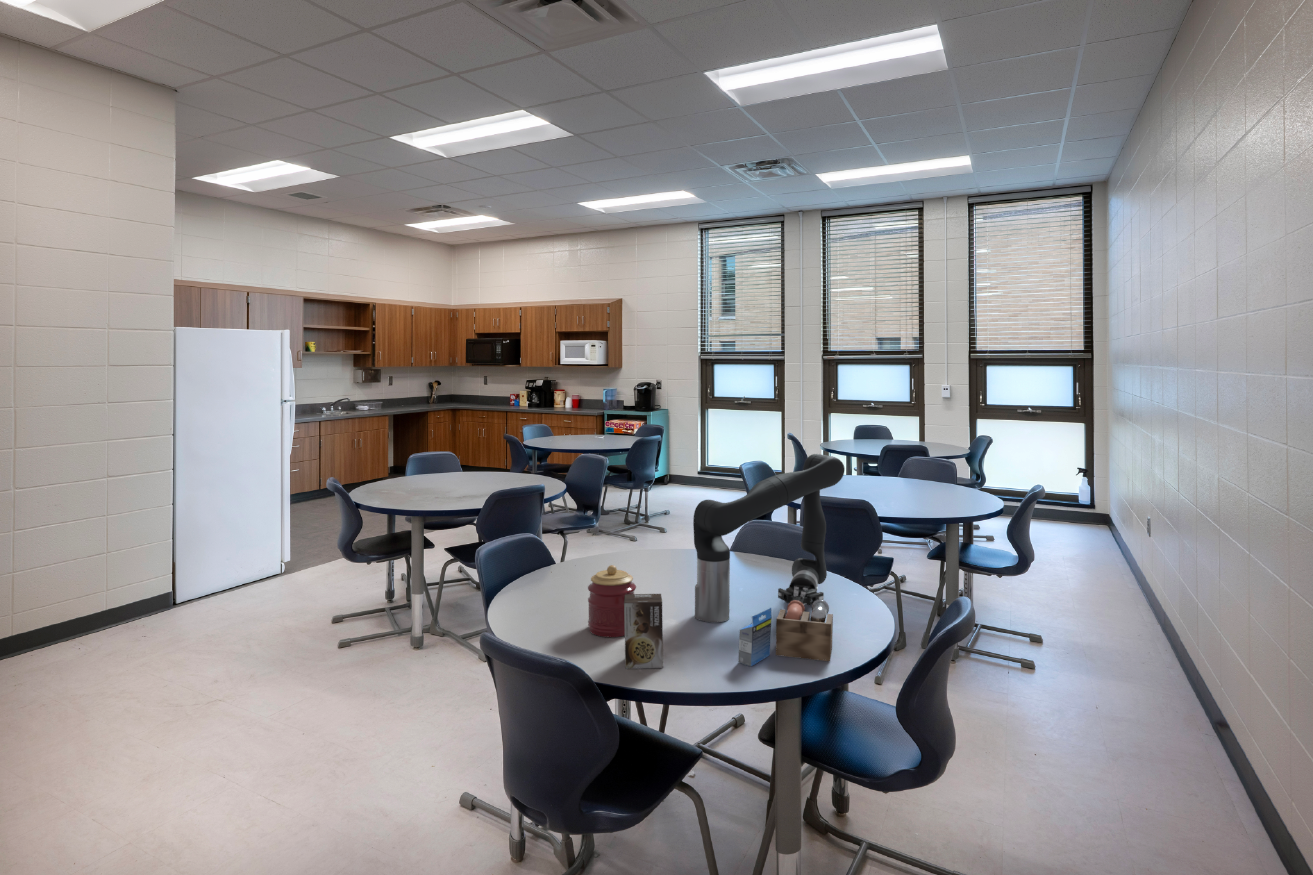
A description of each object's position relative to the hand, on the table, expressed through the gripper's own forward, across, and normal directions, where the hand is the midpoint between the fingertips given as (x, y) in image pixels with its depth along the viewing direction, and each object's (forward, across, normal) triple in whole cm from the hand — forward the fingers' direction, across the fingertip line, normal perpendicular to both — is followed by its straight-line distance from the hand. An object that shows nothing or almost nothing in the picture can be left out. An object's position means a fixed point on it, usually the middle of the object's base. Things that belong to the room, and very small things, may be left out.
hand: (797, 605), depth 189 cm
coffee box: (+30, -33, +8) cm, 45 cm away
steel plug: (+5, +6, +2) cm, 8 cm away
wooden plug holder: (+11, +3, +8) cm, 14 cm away
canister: (+11, -48, +8) cm, 50 cm away
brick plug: (+8, 0, +2) cm, 8 cm away
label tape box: (+20, -8, +8) cm, 23 cm away
